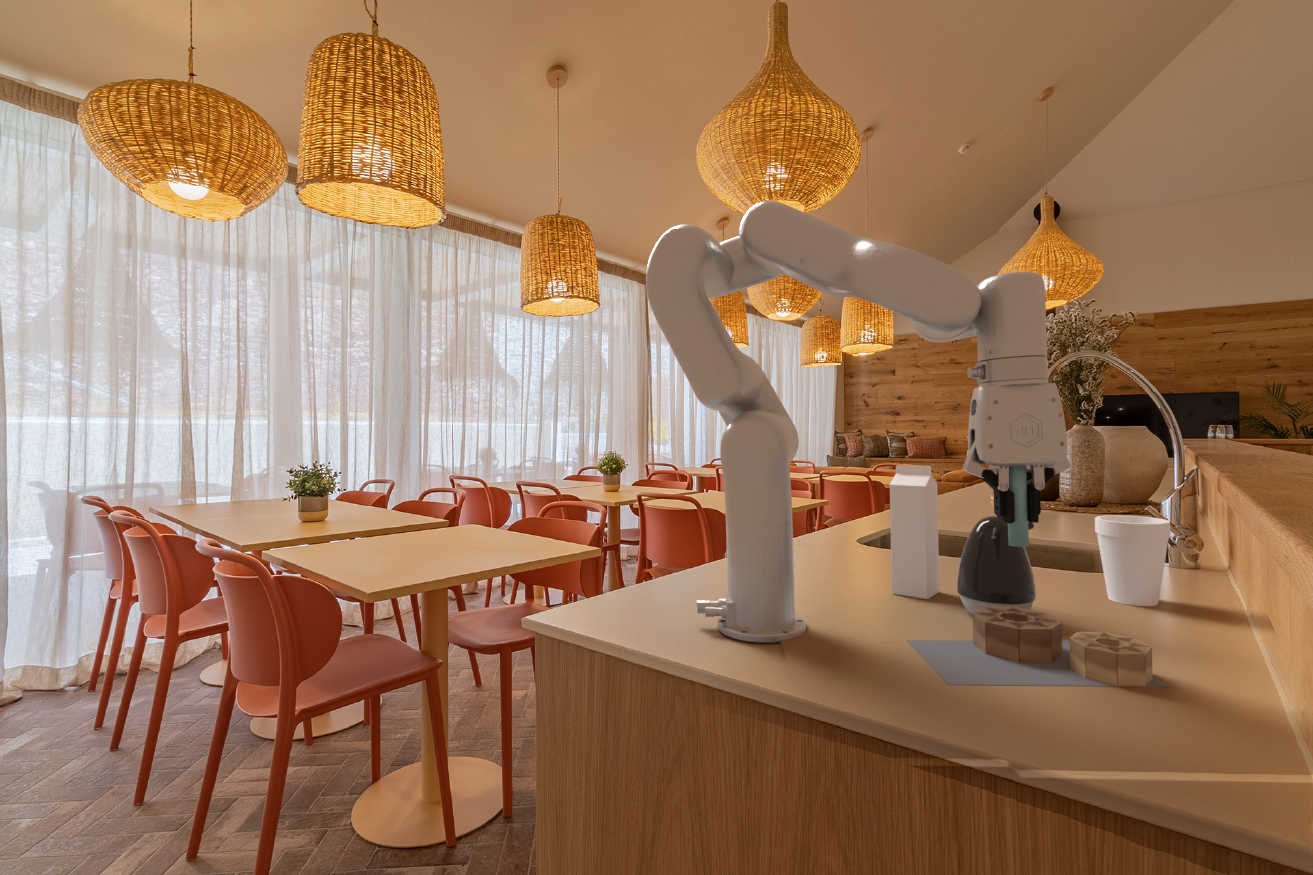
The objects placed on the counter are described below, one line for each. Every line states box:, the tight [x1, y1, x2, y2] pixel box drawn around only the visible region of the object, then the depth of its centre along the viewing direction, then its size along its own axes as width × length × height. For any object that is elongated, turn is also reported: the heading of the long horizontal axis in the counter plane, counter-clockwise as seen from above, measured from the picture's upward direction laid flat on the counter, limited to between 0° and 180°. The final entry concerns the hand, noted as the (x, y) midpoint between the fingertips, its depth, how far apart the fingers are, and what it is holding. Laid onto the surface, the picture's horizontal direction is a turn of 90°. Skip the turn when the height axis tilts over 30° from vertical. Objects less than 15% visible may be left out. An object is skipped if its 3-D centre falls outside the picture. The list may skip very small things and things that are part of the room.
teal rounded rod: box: [1008, 465, 1030, 548], centre depth 76 cm, size 2×2×12 cm
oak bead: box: [1069, 631, 1154, 687], centre depth 69 cm, size 7×7×4 cm
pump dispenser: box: [956, 515, 1037, 616], centre depth 90 cm, size 10×10×15 cm
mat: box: [906, 639, 1172, 688], centre depth 73 cm, size 23×14×1 cm, turn 85°
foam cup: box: [1094, 514, 1171, 607], centre depth 97 cm, size 10×9×13 cm
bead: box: [972, 607, 1063, 663], centre depth 77 cm, size 9×9×4 cm
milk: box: [889, 464, 940, 600], centre depth 105 cm, size 6×6×22 cm
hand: (1017, 520), depth 76 cm, fingers closed on teal rounded rod, 2 cm apart
